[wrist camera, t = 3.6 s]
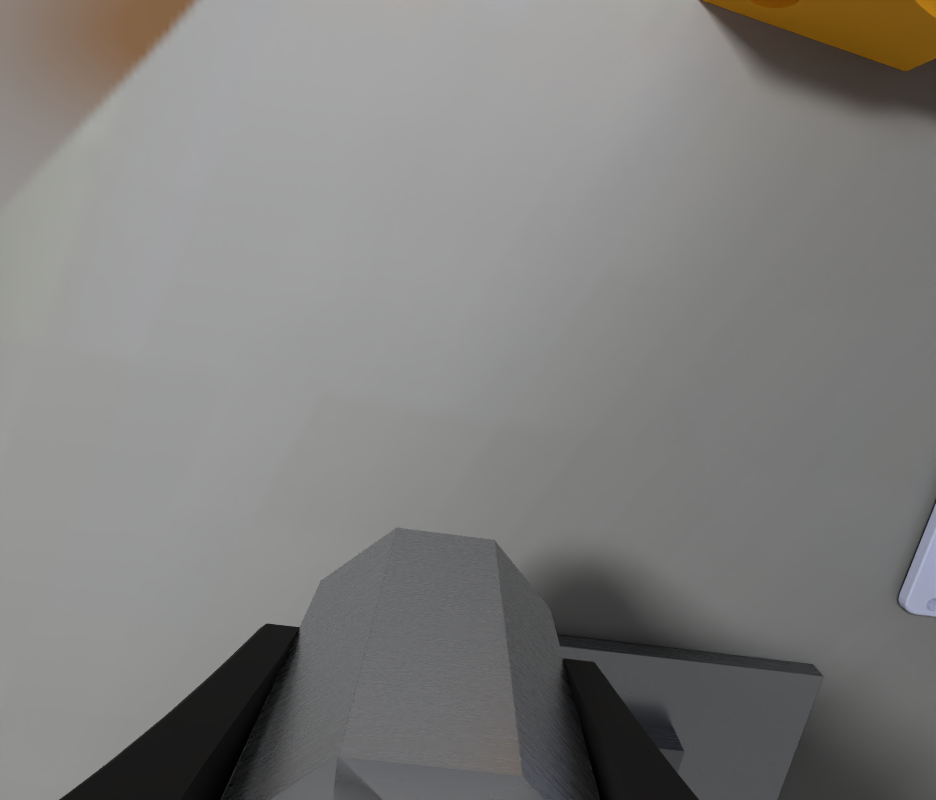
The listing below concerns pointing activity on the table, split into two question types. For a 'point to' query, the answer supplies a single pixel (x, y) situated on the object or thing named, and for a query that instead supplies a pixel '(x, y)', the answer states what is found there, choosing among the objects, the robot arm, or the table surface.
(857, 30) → the yellow curved piece
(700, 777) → the grey square base plate
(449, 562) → the tube
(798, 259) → the table surface
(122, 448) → the table surface
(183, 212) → the table surface
